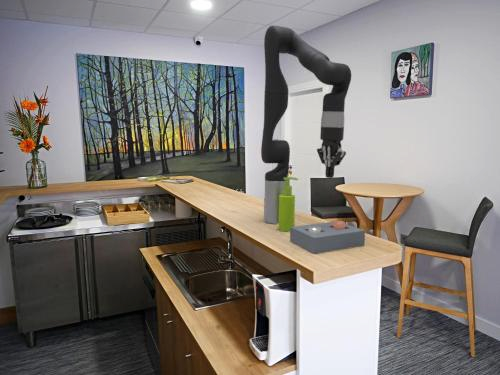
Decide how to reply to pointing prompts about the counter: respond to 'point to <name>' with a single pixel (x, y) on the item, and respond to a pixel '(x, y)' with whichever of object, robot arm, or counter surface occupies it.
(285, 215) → the soap dispenser
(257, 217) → the counter surface
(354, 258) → the counter surface
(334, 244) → the plug board
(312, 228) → the steel plug
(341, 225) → the terracotta plug
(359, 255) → the counter surface
